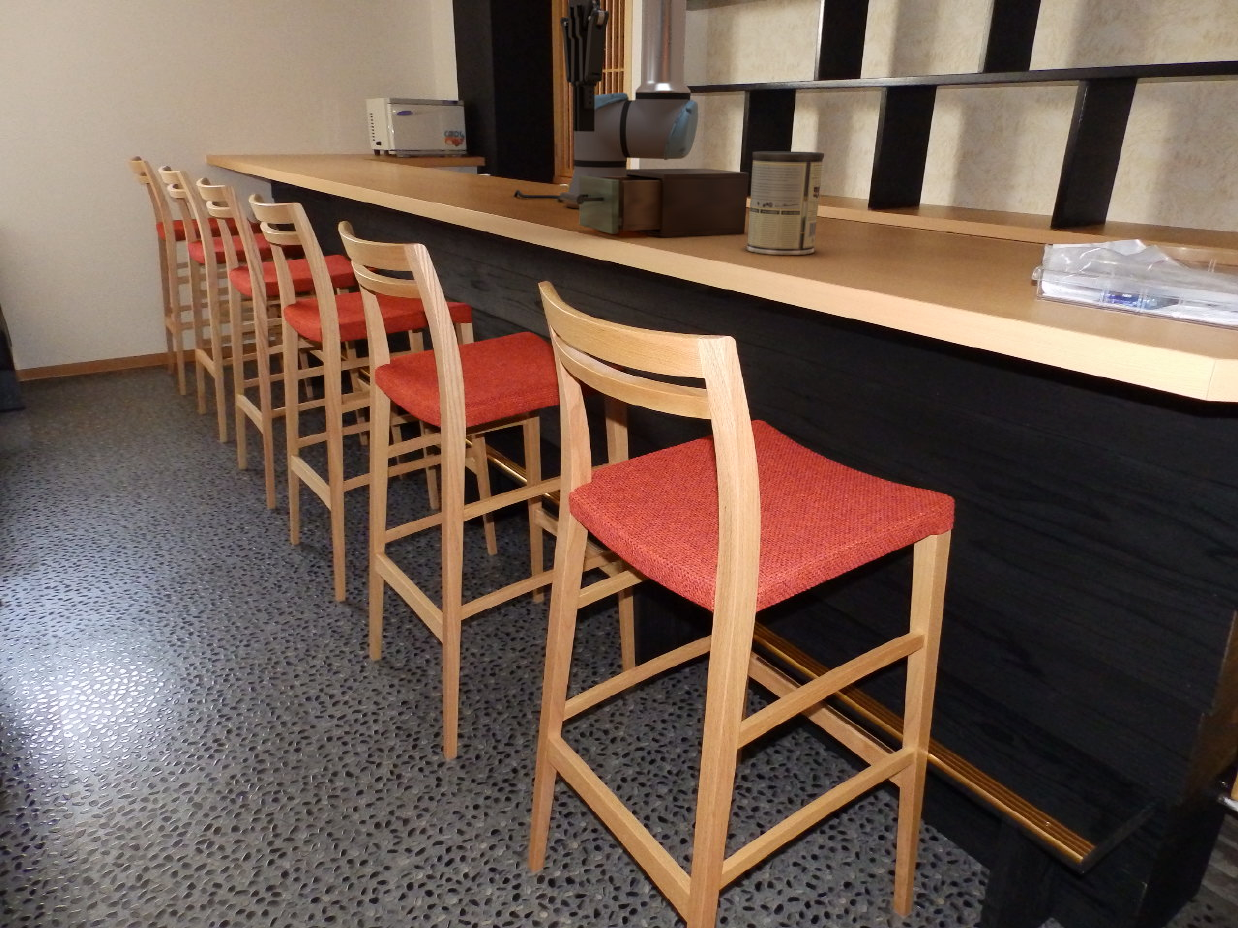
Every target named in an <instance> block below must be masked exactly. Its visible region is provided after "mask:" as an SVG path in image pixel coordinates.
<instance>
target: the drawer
mask: <svg viewBox="0 0 1238 928" xmlns="http://www.w3.org/2000/svg"><path fill="white" fill-rule="evenodd" d="M661 194H662V179H660V178H652V177H645V176H614V177H593V176H586V175H580V176H579V194H571V193H568V192H565V191H563V192H560V194H559V196H560V199H561V200H562V201H561V202H565V203H566V202H571V203H576V204H579V209H578V214H579V215H578V221H579V222H578V225H579V226H581V227H584V228H588V229H591V230H596V231H600V232H603V233H607V234H612V235H615V234H616V235H617V234H619V231H623V232H627V231H628V232H630V231H634V230H655V229H660V224H661Z"/></svg>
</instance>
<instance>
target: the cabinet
mask: <svg viewBox="0 0 1238 928" xmlns="http://www.w3.org/2000/svg"><path fill="white" fill-rule="evenodd" d="M749 174H750V173H749V172H744V171H743V172H742V171H734V170H733V171H732V170H724V169H712V168H627V169H625V176H645V177H652V178H660V179H662V194H661V224H660V229H655V230H633V231H634V232H638V233H641V234H647V235H651V236H654V237H659V238H662V239H664V238H680V237H683V238H684V237H703V236H723V235H744V234H745V233H746V232H745V229H746V219H747V217H746V216H747V205H748V204H747V203H748V190H749V189H748V188H749Z"/></svg>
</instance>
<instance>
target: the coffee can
mask: <svg viewBox="0 0 1238 928" xmlns="http://www.w3.org/2000/svg"><path fill="white" fill-rule="evenodd" d="M751 155H752V167H751V182H750V183H751V184H750V201H749V215H748V227H747V229H748V231H747V243H746V250H747V251H748V252H751V253H756V254H760V255H761V254H762V255H771V256H772V255H773V256H806V255H811V254H813V253H814V252H815V243H816V232H817V224H818V223H817V222H818V213H819V212H818V211H819V202H820V191H821V181H822V180H821V179H822V172H823V161H824V158H825V152H819V151H818V152H817V151H816V152H815V151H791V150H790V151H787V150H785V151H783V150H779V151H777V150H776V151H775V150H773V151H772V150H770V151H768V150H767V151H766V150H763V151H762V150H761V151H759V150H758V151H752V154H751Z"/></svg>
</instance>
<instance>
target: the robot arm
mask: <svg viewBox="0 0 1238 928" xmlns="http://www.w3.org/2000/svg"><path fill="white" fill-rule="evenodd" d="M567 3H568V4H567V7H566V9H567V11H566V16H565V17H564V16H561V17H560V21H559V25H560V27H561V28H560V29H561V33H562V40H563V41H562V42H563V53H564V54H563V55H564V67H565V79H566V83H567V84H568V83H569V84H570V86H571V87H572V114H573V115H572V119H573V120H572V131H573V160H574V161H573V173H572V176H571V180H570V183H569V186H568V190H567V193H571V194H579V176H580V175H586V176H593V177H614V176H625V169H628V167H627V165H628V164H627V163H628V161H627V160H628V159H645V160H647V159H652V160H664V161H668V160H681V159H684V158H686V157H687V156H688V155H689V154H690V152H691V150H692V148H693V145H694V143H695V139H696V134H697V130H698V123H699V104H698V102H697V101H696V100H694V99H691V94H692V93H691V90H690V88H689V87H688V86H687V85H686V84H685V58H686V57H685V55H686V54H685V53H686V52H685V50H686V27H687V26H686V25H687V0H643V38H642V39H643V41H642V42H643V43H642V44H643V45H642V46H643V50H642V82H641V84H640V85H639V86H638V87H637V88H636V89H635V92H634V94H635V97H634V99H630V98H629V95H628V93H626V92H614V93H602V94H596V93H595V91H596V89H595V87H597V85H598V83H600V82H602V80H603V70H604V60H605V47H606V46H605V45H606V37H607V36H606V35H607V27H608V23H609V20H610V19H609V18H610V12H609V10H603V9H602V8H601V7H602V2H601V0H568V1H567ZM595 94H596V95H595ZM518 196H519V197H520V198H521V199H527V200H529V199H531V200H534V199H537V200H540V199H541V200H544V199H545V200H549V199H550V200H557V201H558V202H563V201H562V200H561V199H560V195H557V194H555V195H554V194H524V193H522V192H521V191H520V190H519V189H516V190H515V192H514V194H513V197H514V198H517V197H518ZM565 206H566V208H569V209H570V208H571V209H578V210H579V204H576V203H571V202H566V201H565Z"/></svg>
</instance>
